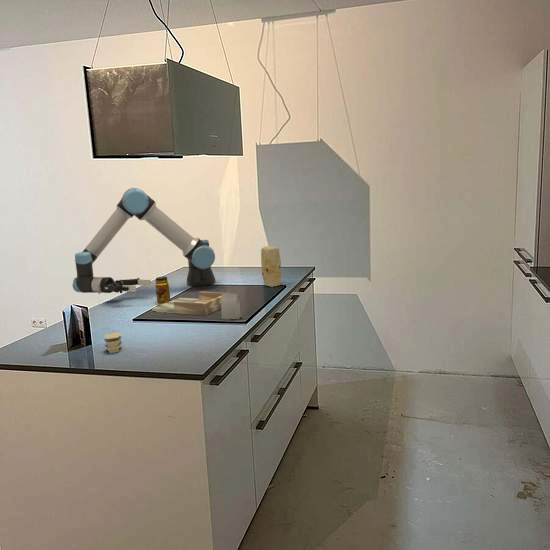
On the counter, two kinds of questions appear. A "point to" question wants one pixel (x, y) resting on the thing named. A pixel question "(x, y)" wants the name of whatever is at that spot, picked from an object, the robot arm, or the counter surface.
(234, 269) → the counter surface
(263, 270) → the food model
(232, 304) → the tea bag
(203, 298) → the open-front wooden tray
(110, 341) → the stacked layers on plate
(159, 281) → the condiment
